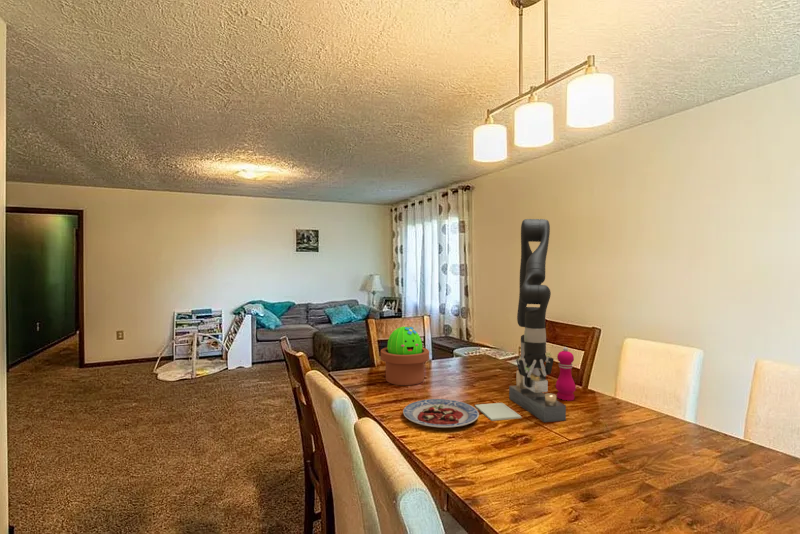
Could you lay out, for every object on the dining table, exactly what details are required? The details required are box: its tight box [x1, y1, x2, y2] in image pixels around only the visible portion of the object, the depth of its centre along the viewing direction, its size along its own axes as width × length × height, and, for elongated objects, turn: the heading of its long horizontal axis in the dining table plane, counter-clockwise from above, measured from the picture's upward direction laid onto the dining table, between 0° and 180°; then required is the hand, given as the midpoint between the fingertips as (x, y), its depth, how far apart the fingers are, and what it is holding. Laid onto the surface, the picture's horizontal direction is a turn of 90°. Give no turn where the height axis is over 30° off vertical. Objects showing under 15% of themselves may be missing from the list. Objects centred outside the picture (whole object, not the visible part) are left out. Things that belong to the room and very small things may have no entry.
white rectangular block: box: [523, 373, 549, 393], centre depth 143 cm, size 8×5×5 cm, turn 12°
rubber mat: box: [474, 402, 522, 421], centre depth 140 cm, size 14×11×1 cm
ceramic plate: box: [402, 398, 480, 429], centre depth 135 cm, size 26×26×3 cm
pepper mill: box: [555, 346, 577, 402], centre depth 155 cm, size 7×7×20 cm
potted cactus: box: [380, 325, 430, 386], centre depth 180 cm, size 22×22×25 cm
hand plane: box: [508, 369, 567, 423], centre depth 143 cm, size 24×8×11 cm, turn 12°
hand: (535, 386), depth 143 cm, fingers closed on white rectangular block, 5 cm apart
